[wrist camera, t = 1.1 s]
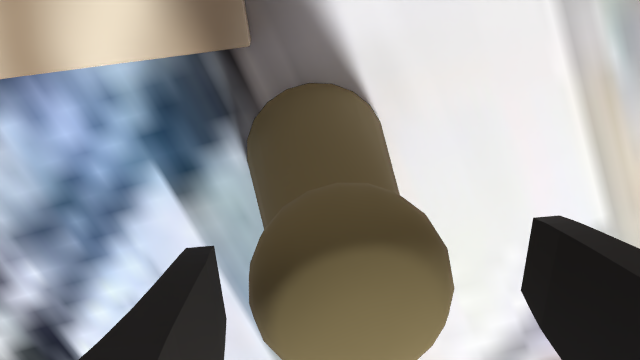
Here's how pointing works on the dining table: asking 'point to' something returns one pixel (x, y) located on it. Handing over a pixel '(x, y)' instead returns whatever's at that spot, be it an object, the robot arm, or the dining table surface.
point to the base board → (113, 32)
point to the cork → (339, 236)
